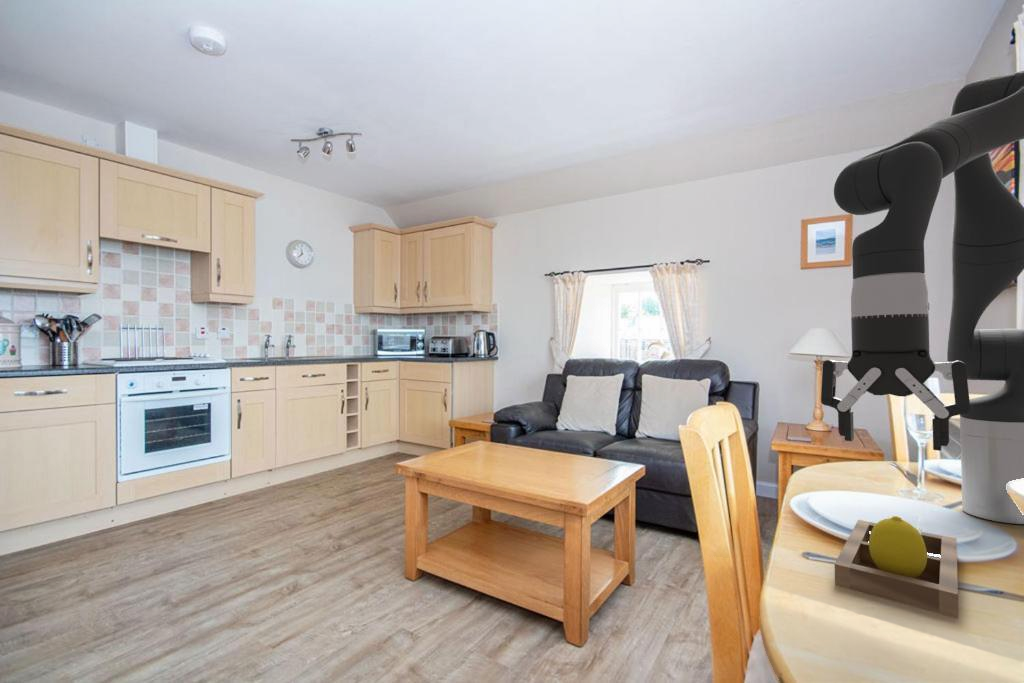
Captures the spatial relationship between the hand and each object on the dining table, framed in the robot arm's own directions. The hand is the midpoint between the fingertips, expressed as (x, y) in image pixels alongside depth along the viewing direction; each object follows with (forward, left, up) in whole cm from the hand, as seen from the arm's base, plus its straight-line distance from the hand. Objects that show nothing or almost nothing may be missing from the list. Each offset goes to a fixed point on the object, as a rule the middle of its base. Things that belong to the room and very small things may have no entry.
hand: (891, 444), depth 59 cm
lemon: (0, 0, -17) cm, 17 cm away
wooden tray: (-4, -1, -18) cm, 19 cm away
